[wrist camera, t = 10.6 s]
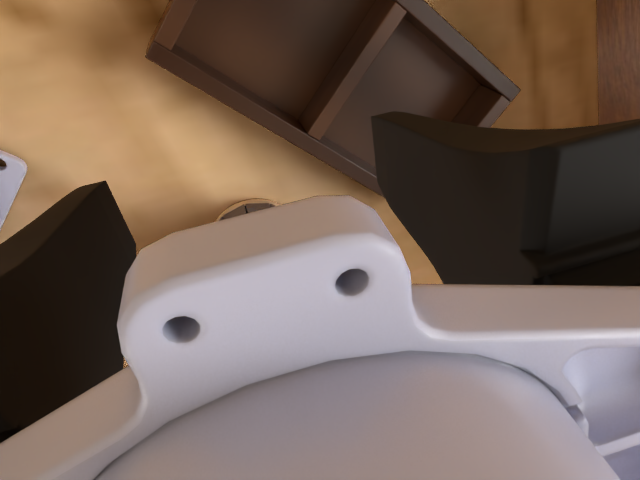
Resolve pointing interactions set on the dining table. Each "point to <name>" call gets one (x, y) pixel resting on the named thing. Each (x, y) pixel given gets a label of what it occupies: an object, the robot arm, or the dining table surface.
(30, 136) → the dining table surface
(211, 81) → the cup holder
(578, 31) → the dining table surface
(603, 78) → the tissue box cover
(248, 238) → the robot arm
